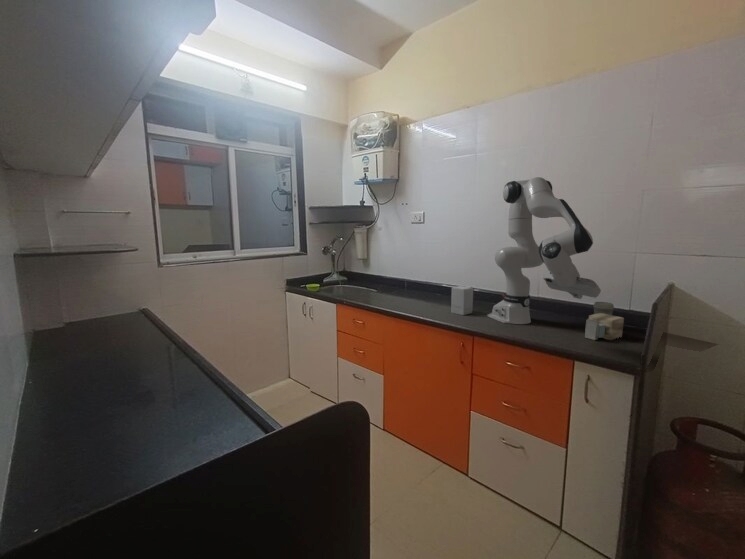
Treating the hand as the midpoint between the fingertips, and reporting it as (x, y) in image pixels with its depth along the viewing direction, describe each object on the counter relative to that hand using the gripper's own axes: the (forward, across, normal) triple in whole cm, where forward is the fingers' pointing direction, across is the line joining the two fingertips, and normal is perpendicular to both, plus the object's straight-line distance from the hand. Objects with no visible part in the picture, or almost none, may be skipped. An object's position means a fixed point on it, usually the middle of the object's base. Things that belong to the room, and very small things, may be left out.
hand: (578, 297), depth 142 cm
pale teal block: (+24, -1, +3) cm, 24 cm away
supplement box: (+11, +62, +20) cm, 66 cm away
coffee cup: (+39, +7, -9) cm, 40 cm away
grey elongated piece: (+28, -1, 0) cm, 28 cm away
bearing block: (+29, -1, -1) cm, 29 cm away
